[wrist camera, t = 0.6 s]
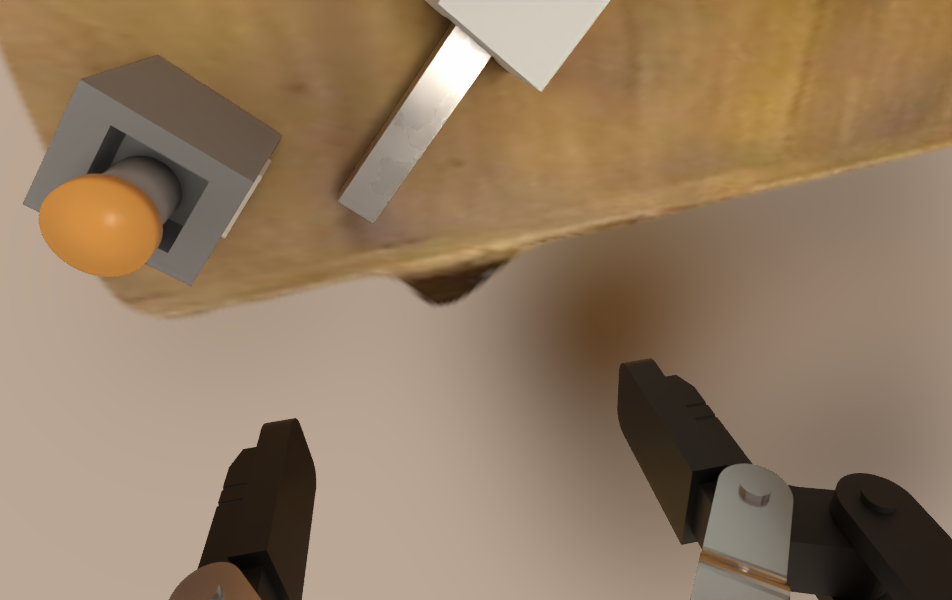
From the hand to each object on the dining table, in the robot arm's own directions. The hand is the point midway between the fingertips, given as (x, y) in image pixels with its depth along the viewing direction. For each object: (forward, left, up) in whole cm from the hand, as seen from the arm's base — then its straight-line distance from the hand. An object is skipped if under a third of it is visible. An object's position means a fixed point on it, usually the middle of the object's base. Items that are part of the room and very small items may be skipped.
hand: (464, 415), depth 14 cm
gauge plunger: (+6, -10, -15) cm, 19 cm away
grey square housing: (+6, -10, -23) cm, 26 cm away
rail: (-5, -1, -23) cm, 24 cm away
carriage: (-10, -1, -23) cm, 25 cm away
